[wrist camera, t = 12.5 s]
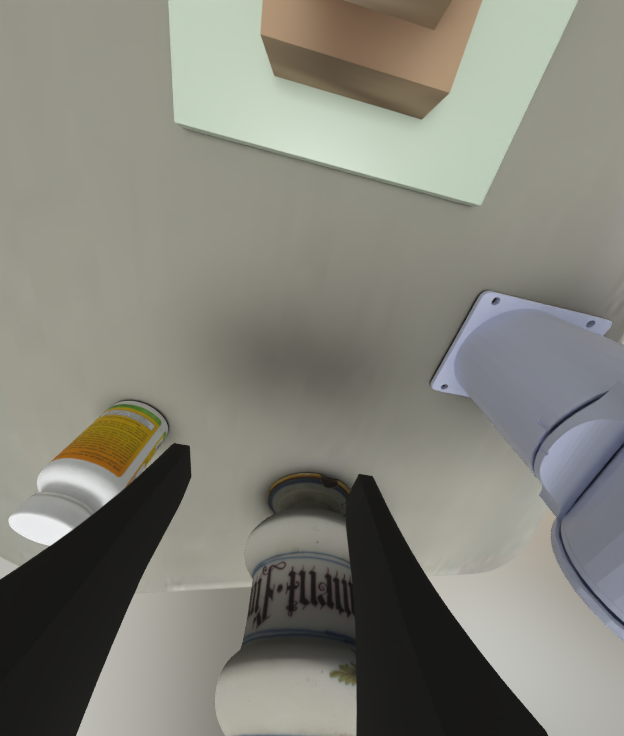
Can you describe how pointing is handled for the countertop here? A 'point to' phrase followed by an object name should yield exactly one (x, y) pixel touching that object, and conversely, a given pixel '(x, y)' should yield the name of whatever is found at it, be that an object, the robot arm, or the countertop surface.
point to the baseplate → (358, 119)
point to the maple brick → (410, 10)
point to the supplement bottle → (91, 471)
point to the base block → (367, 51)
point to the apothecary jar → (296, 620)
